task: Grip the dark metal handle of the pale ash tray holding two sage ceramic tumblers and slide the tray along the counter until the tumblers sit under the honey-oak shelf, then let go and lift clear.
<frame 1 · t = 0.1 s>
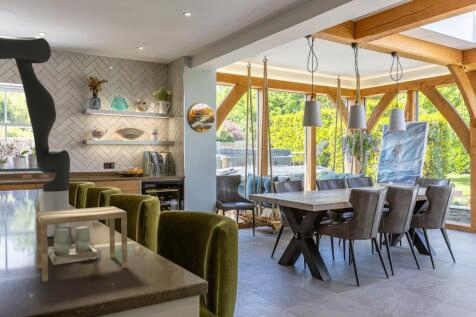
pitcher: (51, 225, 179), on the kitchen island
tray: (69, 254, 127), on the kitchen island
oak shelf: (82, 268, 110), on the kitchen island
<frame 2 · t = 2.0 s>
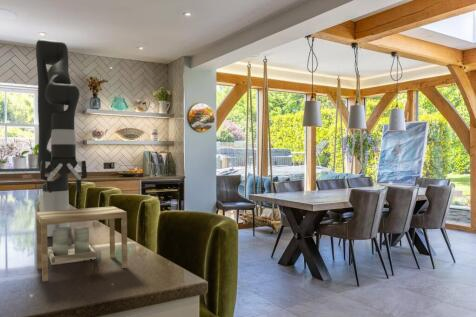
hand: (64, 191, 134), 19 cm above the kitchen island, fingers open, 8 cm apart
nothing on the kitchen island moved.
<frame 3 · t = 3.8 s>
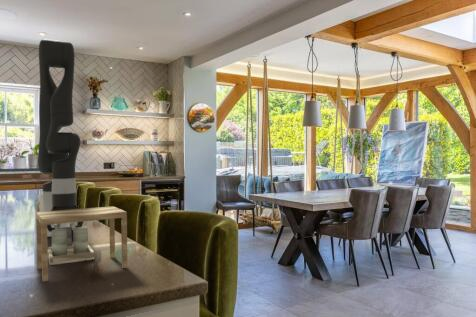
hand: (65, 242, 135), 2 cm above the kitchen island, fingers open, 4 cm apart
tray: (68, 255, 126), on the kitchen island, touching gripper
everything else where it was.
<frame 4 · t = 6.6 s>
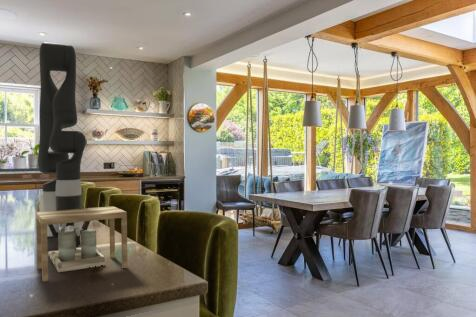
hand: (69, 247, 127), 2 cm above the kitchen island, fingers closed on tray, 3 cm apart
tray: (74, 259, 119), on the kitchen island, touching gripper
everything else where it was.
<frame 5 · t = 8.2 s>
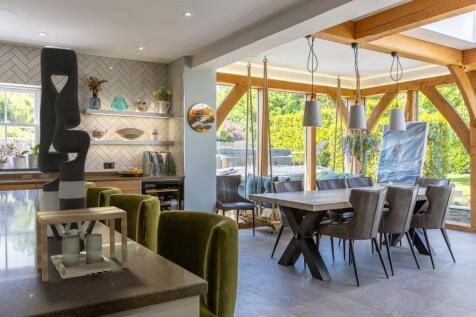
hand: (73, 252, 121), 2 cm above the kitchen island, fingers closed on tray, 3 cm apart
tray: (79, 264, 113), on the kitchen island, touching gripper
everything else where it was.
when the fingers open (2 cm above the kitchen island, at t = 9.3 s): tray stays where it is, on the kitchen island.
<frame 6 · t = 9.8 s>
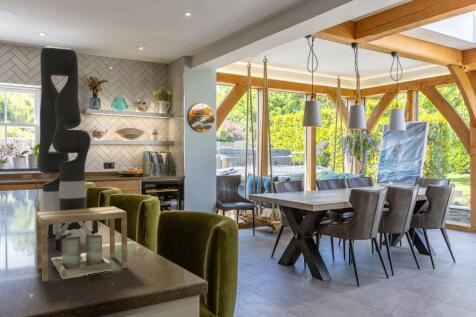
hand: (73, 249, 121), 3 cm above the kitchen island, fingers open, 8 cm apart
tray: (79, 266, 113), on the kitchen island
everything else where it was.
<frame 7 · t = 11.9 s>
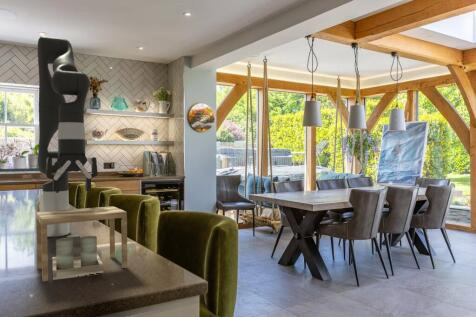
hand: (72, 191, 121), 20 cm above the kitchen island, fingers open, 8 cm apart
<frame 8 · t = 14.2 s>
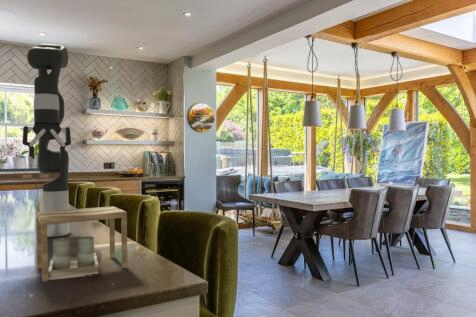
hand: (47, 158, 131), 30 cm above the kitchen island, fingers open, 8 cm apart
at the end: tray 4.0 cm from the oak shelf (horizontally); tray tilted 0°; the gripper is holding nothing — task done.
